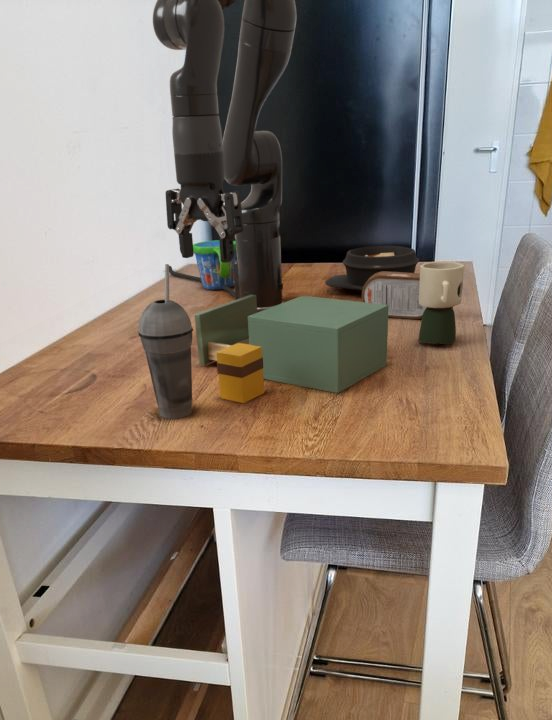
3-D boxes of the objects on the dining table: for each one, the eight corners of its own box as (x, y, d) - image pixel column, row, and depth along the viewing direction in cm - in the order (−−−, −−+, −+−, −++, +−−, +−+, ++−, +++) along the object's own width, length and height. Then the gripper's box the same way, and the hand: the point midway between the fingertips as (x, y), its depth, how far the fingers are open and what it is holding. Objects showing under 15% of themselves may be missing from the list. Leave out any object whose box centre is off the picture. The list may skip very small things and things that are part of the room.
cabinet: (251, 376, 112) (247, 316, 107) (304, 351, 122) (302, 295, 117) (338, 393, 103) (337, 328, 98) (386, 364, 114) (388, 304, 109)
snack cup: (192, 283, 177) (188, 240, 172) (234, 279, 179) (231, 236, 174) (201, 296, 164) (196, 250, 159) (245, 291, 166) (242, 246, 161)
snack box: (241, 388, 107) (237, 342, 104) (265, 392, 105) (262, 346, 101) (219, 398, 104) (215, 351, 100) (243, 403, 101) (240, 356, 98)
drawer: (192, 363, 118) (186, 312, 114) (246, 340, 128) (243, 293, 124) (275, 378, 109) (272, 325, 105) (327, 352, 119) (326, 303, 115)
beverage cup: (151, 405, 103) (131, 261, 93) (201, 401, 103) (186, 258, 93) (148, 424, 96) (126, 272, 86) (201, 420, 97) (185, 268, 87)
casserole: (318, 299, 156) (318, 259, 151) (331, 281, 171) (331, 244, 167) (434, 299, 150) (437, 258, 146) (437, 281, 166) (439, 243, 162)
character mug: (464, 351, 118) (471, 270, 111) (421, 353, 118) (425, 272, 111) (451, 333, 127) (457, 258, 121) (411, 335, 127) (415, 260, 121)
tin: (438, 317, 137) (441, 272, 133) (434, 321, 135) (437, 276, 131) (364, 313, 143) (365, 269, 139) (359, 317, 141) (360, 273, 136)
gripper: (249, 148, 107) (254, 259, 115) (181, 147, 115) (190, 251, 123) (217, 151, 102) (225, 268, 110) (148, 151, 110) (160, 259, 118)
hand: (207, 259), depth 117 cm, fingers open, 8 cm apart
